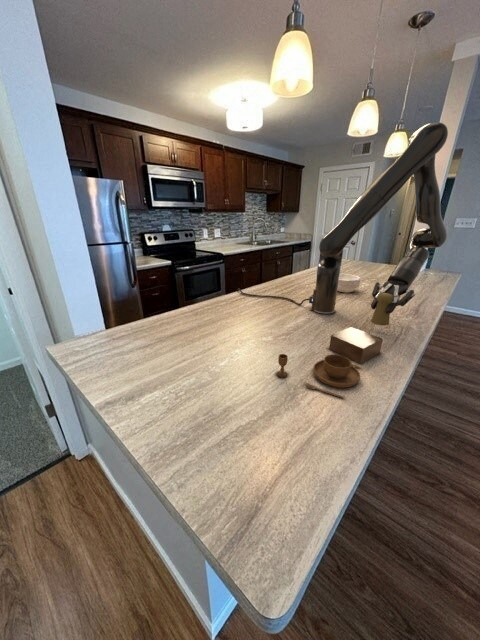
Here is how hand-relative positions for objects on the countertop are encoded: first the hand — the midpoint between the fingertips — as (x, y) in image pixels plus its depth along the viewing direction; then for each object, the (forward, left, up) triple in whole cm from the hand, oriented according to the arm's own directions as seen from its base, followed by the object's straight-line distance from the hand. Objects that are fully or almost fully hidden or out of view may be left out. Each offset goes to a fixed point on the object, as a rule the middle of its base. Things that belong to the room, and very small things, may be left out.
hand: (380, 310), depth 94 cm
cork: (+1, +2, -5) cm, 6 cm away
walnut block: (-3, -19, -9) cm, 21 cm away
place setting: (-8, -37, -9) cm, 39 cm away
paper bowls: (-24, +51, -9) cm, 57 cm away
